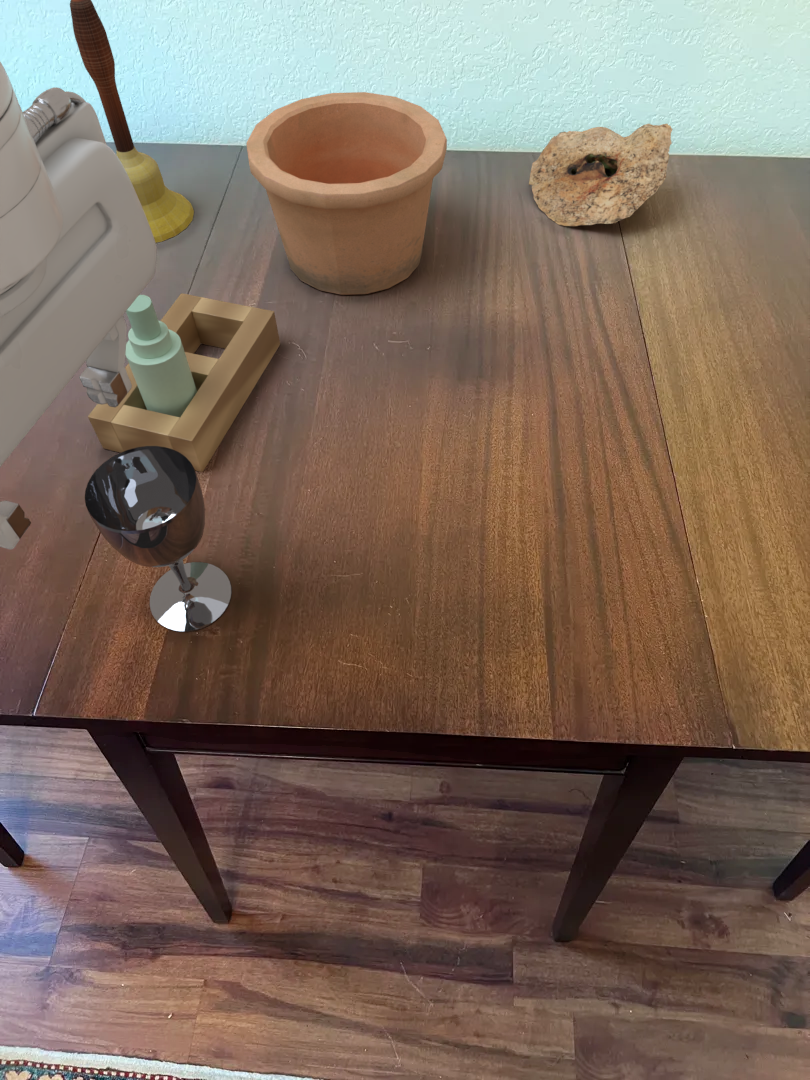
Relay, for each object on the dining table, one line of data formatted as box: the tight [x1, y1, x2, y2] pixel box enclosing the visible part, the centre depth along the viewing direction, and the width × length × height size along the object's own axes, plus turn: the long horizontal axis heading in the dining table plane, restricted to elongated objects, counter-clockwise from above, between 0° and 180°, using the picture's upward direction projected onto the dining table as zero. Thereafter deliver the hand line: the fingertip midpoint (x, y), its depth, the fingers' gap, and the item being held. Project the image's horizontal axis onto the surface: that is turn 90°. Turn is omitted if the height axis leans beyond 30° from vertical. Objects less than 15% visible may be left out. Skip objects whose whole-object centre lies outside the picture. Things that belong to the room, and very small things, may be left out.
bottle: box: [125, 294, 197, 417], centre depth 74 cm, size 5×5×15 cm
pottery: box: [245, 91, 448, 296], centre depth 91 cm, size 22×22×14 cm
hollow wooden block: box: [87, 292, 281, 473], centre depth 81 cm, size 11×20×4 cm, turn 163°
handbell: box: [69, 0, 195, 244], centre depth 92 cm, size 12×12×25 cm
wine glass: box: [84, 446, 233, 633], centre depth 62 cm, size 8×8×15 cm
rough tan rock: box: [528, 123, 673, 227], centre depth 101 cm, size 18×14×8 cm
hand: (64, 461), depth 39 cm, fingers open, 8 cm apart
